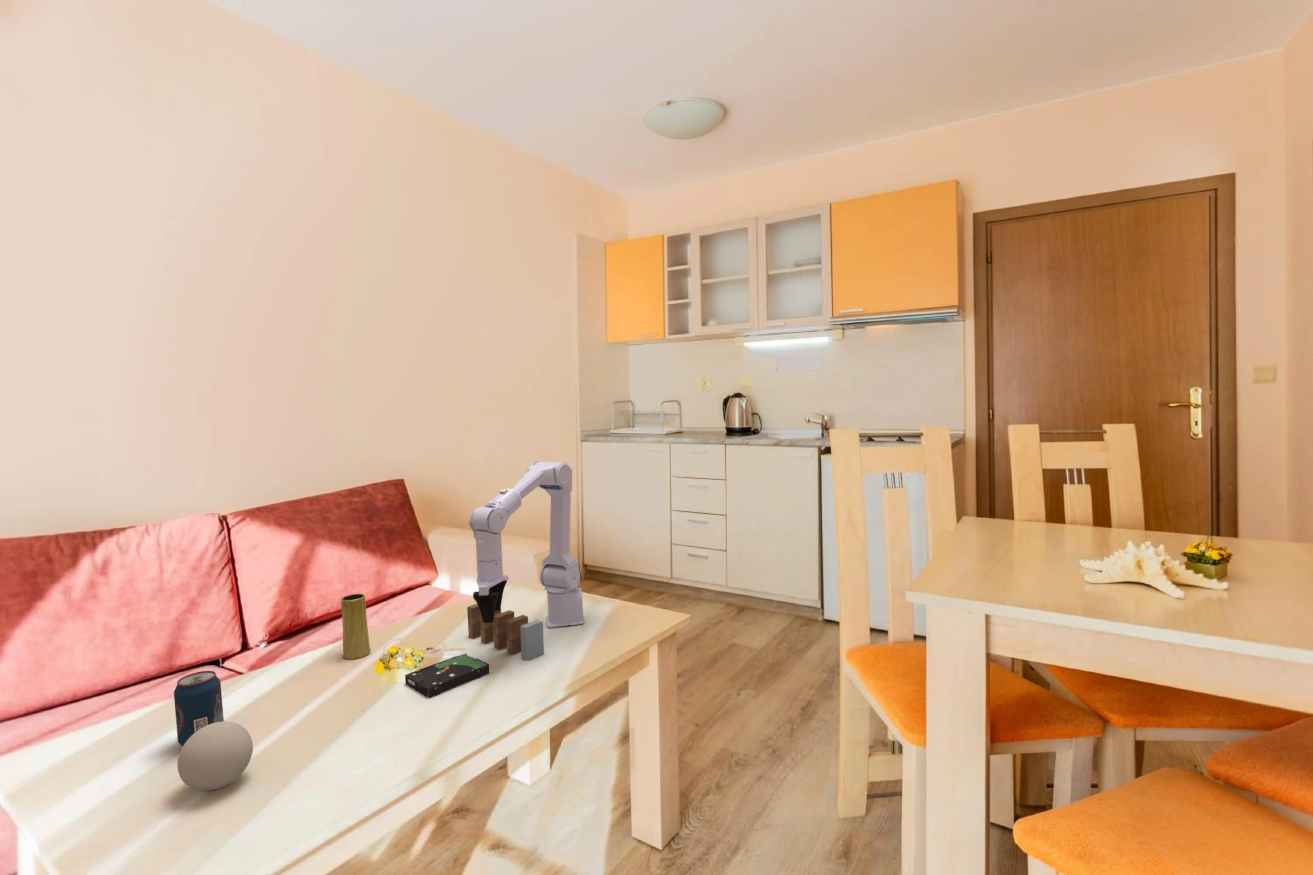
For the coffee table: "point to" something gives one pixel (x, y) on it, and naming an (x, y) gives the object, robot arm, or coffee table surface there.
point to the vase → (354, 626)
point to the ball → (215, 756)
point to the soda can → (197, 703)
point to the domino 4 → (532, 640)
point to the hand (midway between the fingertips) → (492, 616)
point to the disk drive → (446, 675)
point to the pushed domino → (474, 621)
